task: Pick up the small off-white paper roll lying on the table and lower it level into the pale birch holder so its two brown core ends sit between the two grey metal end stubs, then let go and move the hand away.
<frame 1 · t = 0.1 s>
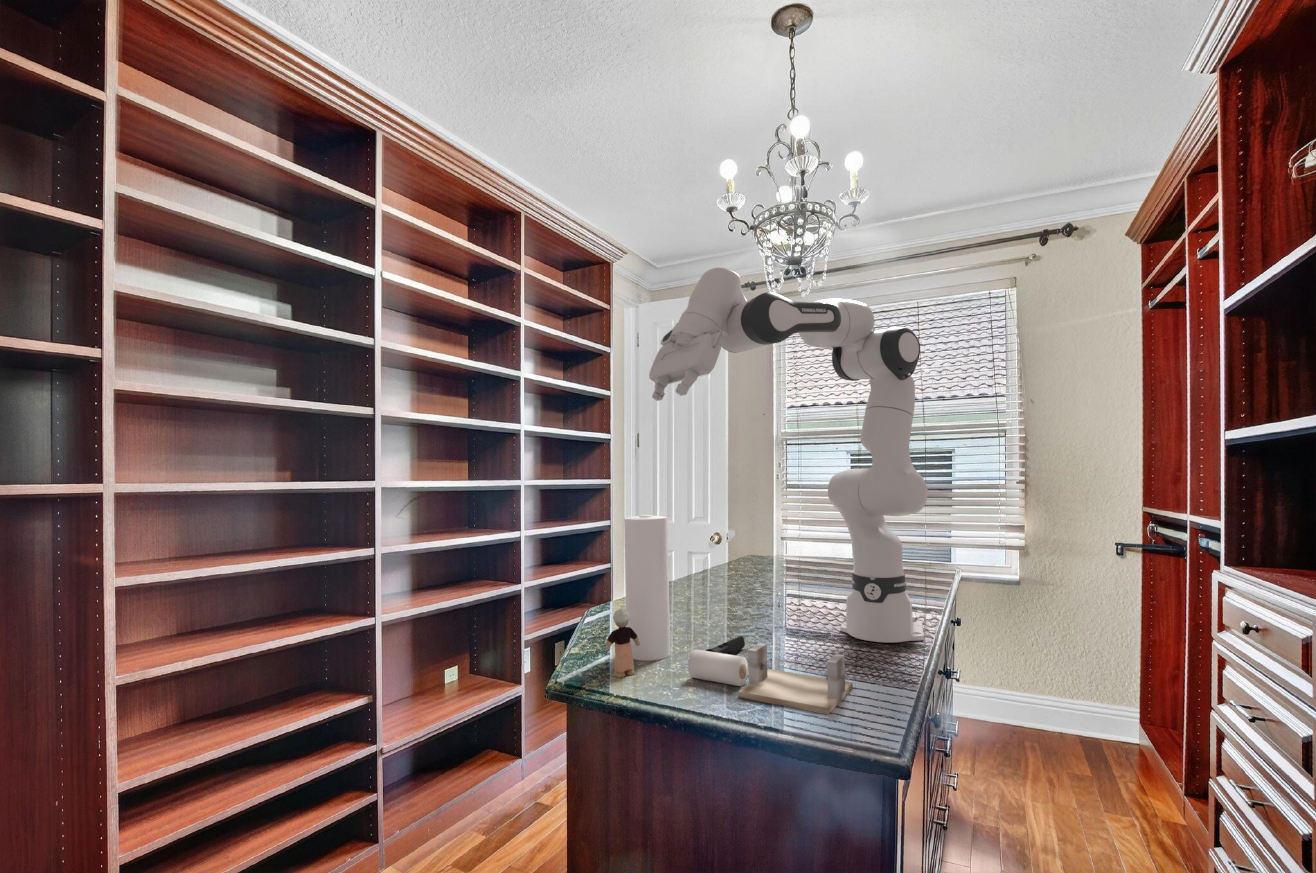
hand: (667, 396, 124), 54 cm above the table, tool tilted 30°, fingers open, 8 cm apart
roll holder: (796, 692, 113), on the table
electric trimmer: (722, 658, 135), on the table
paper roll: (718, 681, 120), on the table
grandmother figurine: (622, 675, 124), on the table
cylinder container: (648, 654, 138), on the table
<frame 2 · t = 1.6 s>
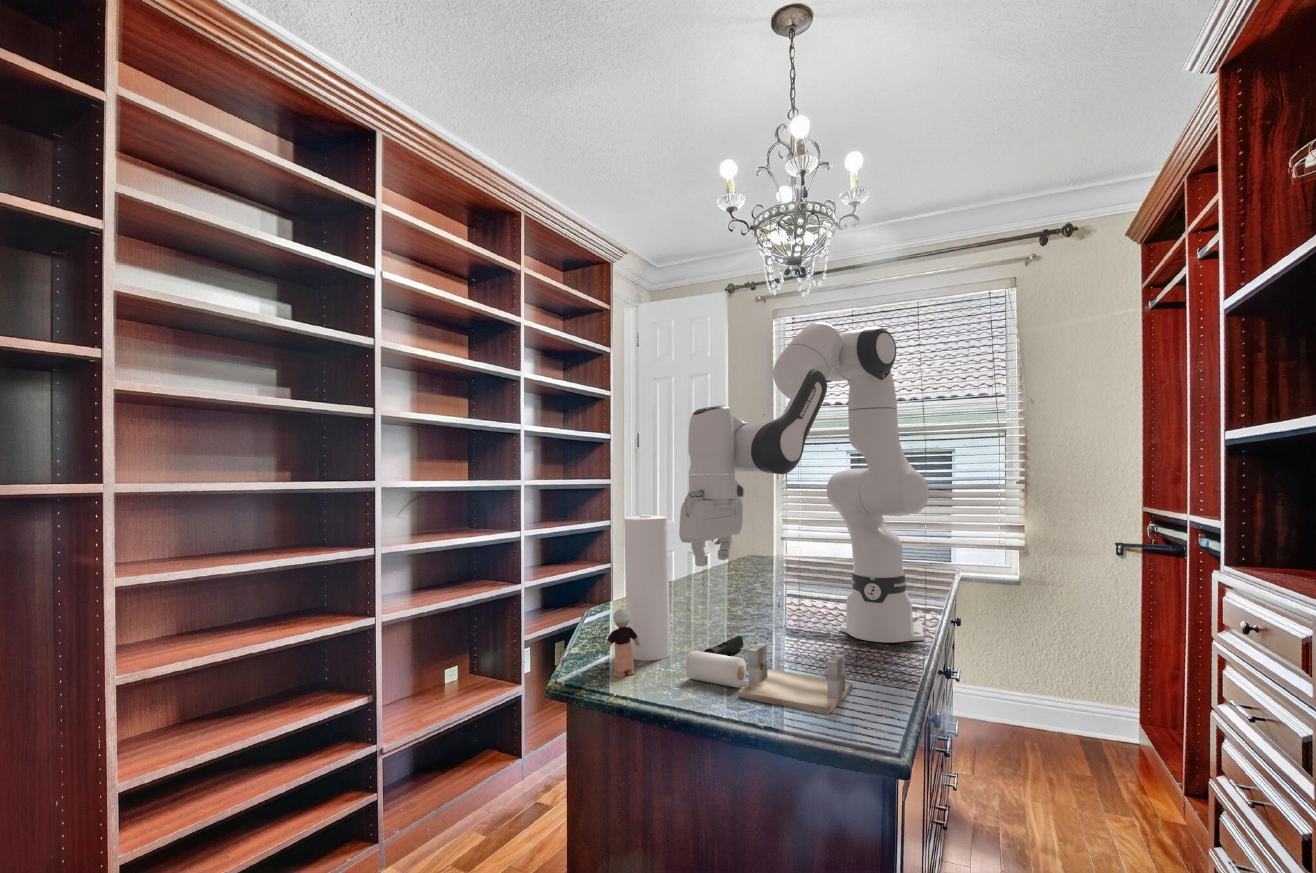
hand: (712, 562, 121), 22 cm above the table, tool pointing down, fingers open, 8 cm apart
paper roll: (718, 680, 120), on the table, tilted 19°
everything else where it was.
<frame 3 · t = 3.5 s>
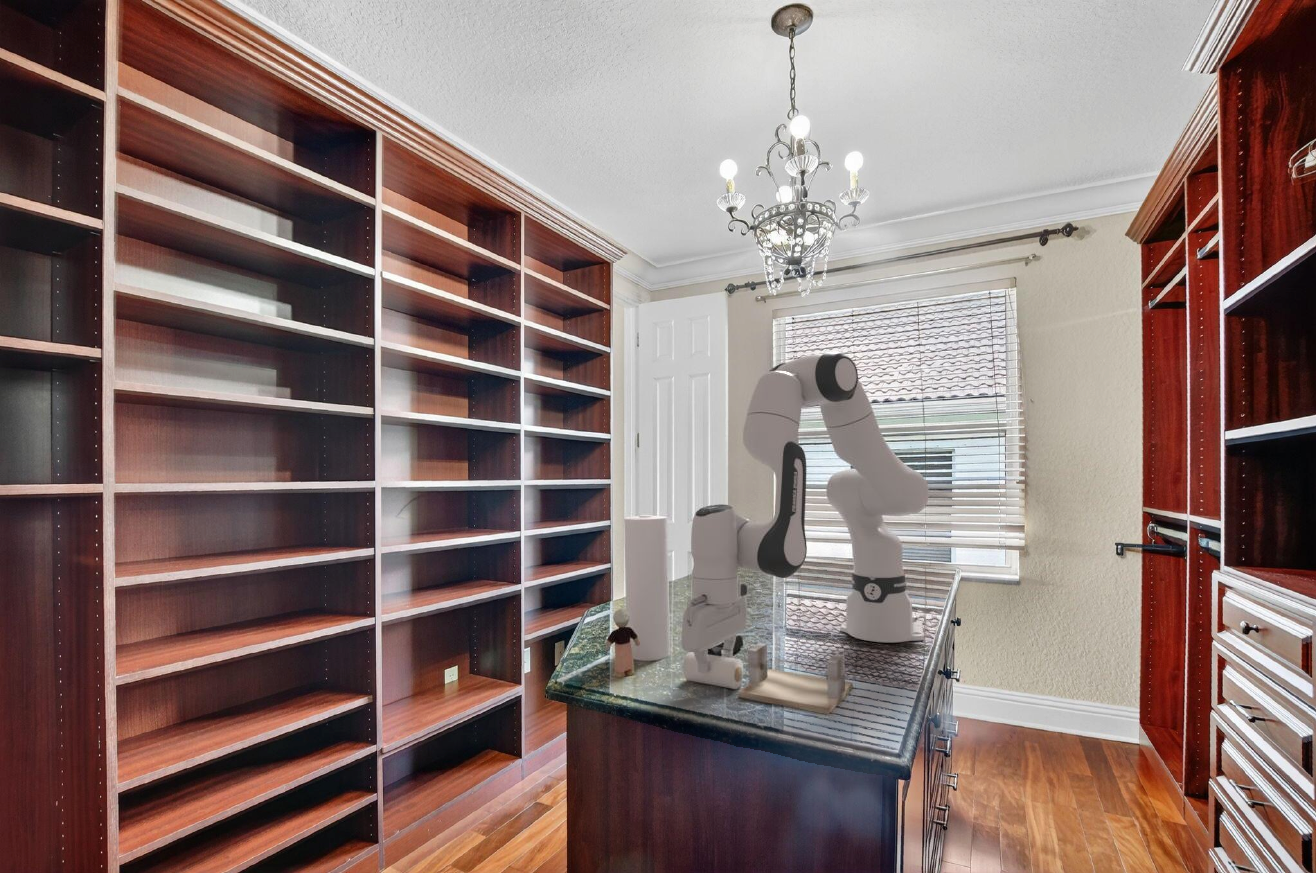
hand: (716, 665, 120), 3 cm above the table, tool pointing down, fingers open, 8 cm apart
paper roll: (719, 670, 120), point 2 cm above the table, tilted 73°
everything else where it was.
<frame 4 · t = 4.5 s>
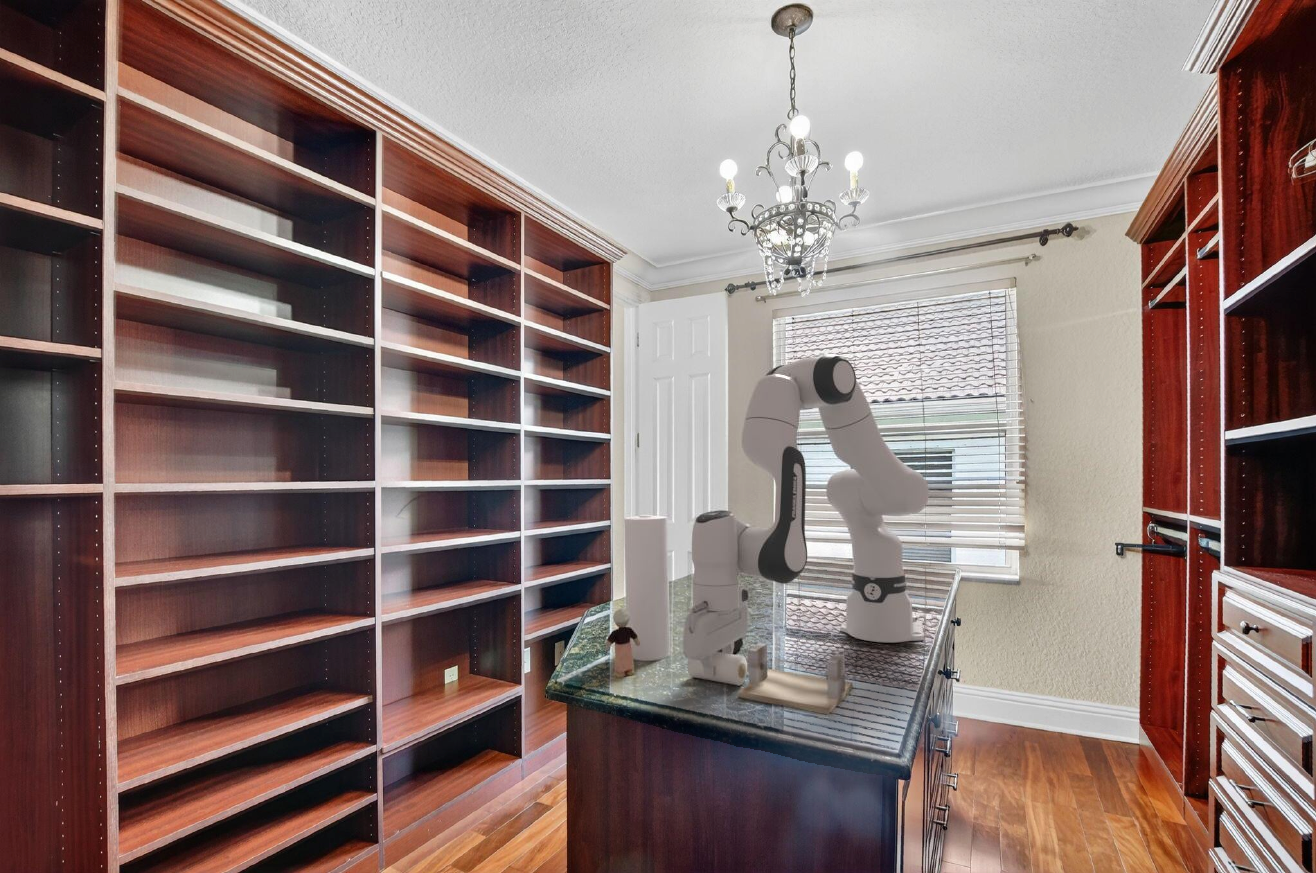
hand: (718, 671, 120), 2 cm above the table, tool pointing down, fingers closed on paper roll, 5 cm apart
paper roll: (720, 676, 121), on the table, tilted 32°, touching gripper
everything else where it was.
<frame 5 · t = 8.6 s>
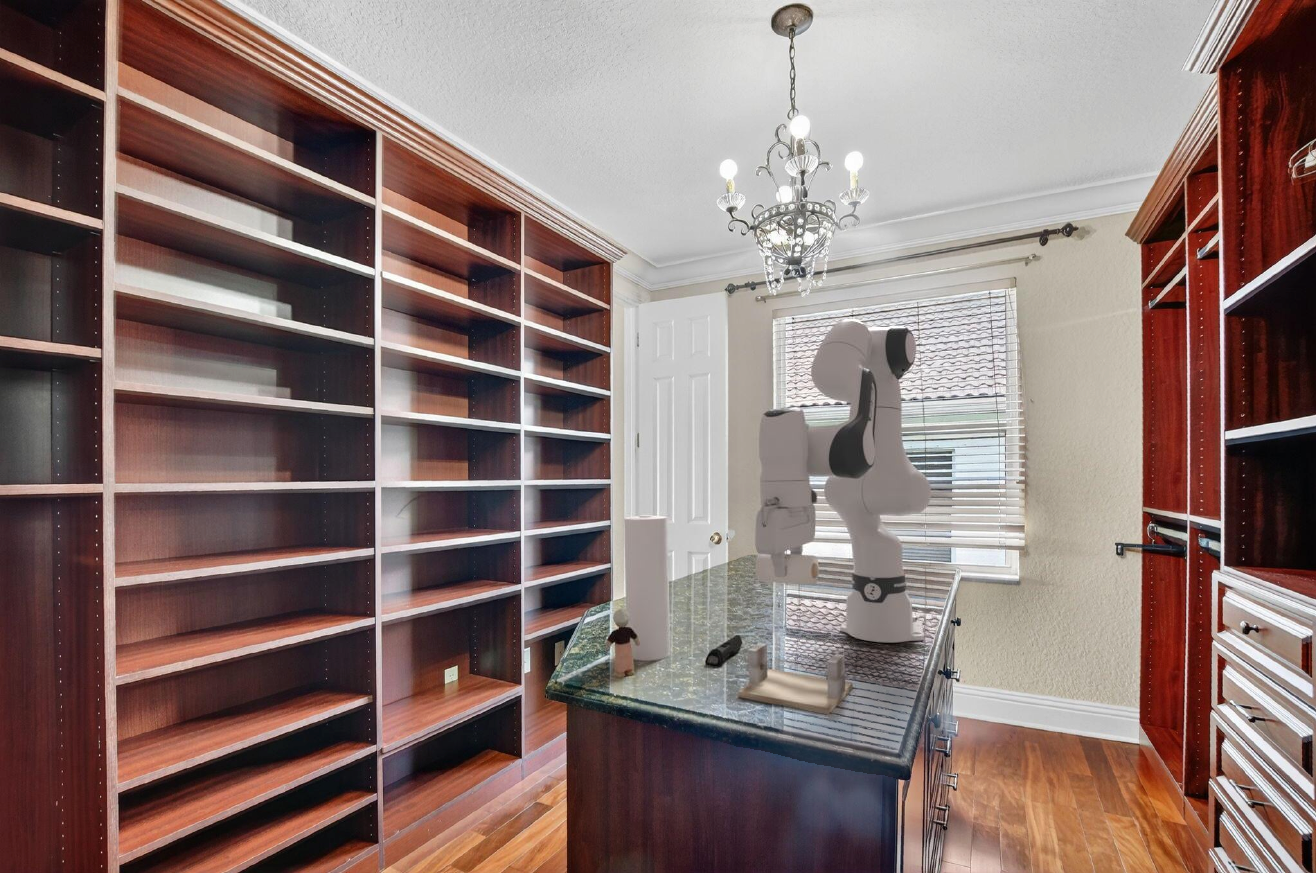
hand: (787, 573, 114), 21 cm above the table, tool pointing down, fingers closed on paper roll, 5 cm apart
paper roll: (790, 579, 115), point 20 cm above the table, tilted 32°, touching gripper
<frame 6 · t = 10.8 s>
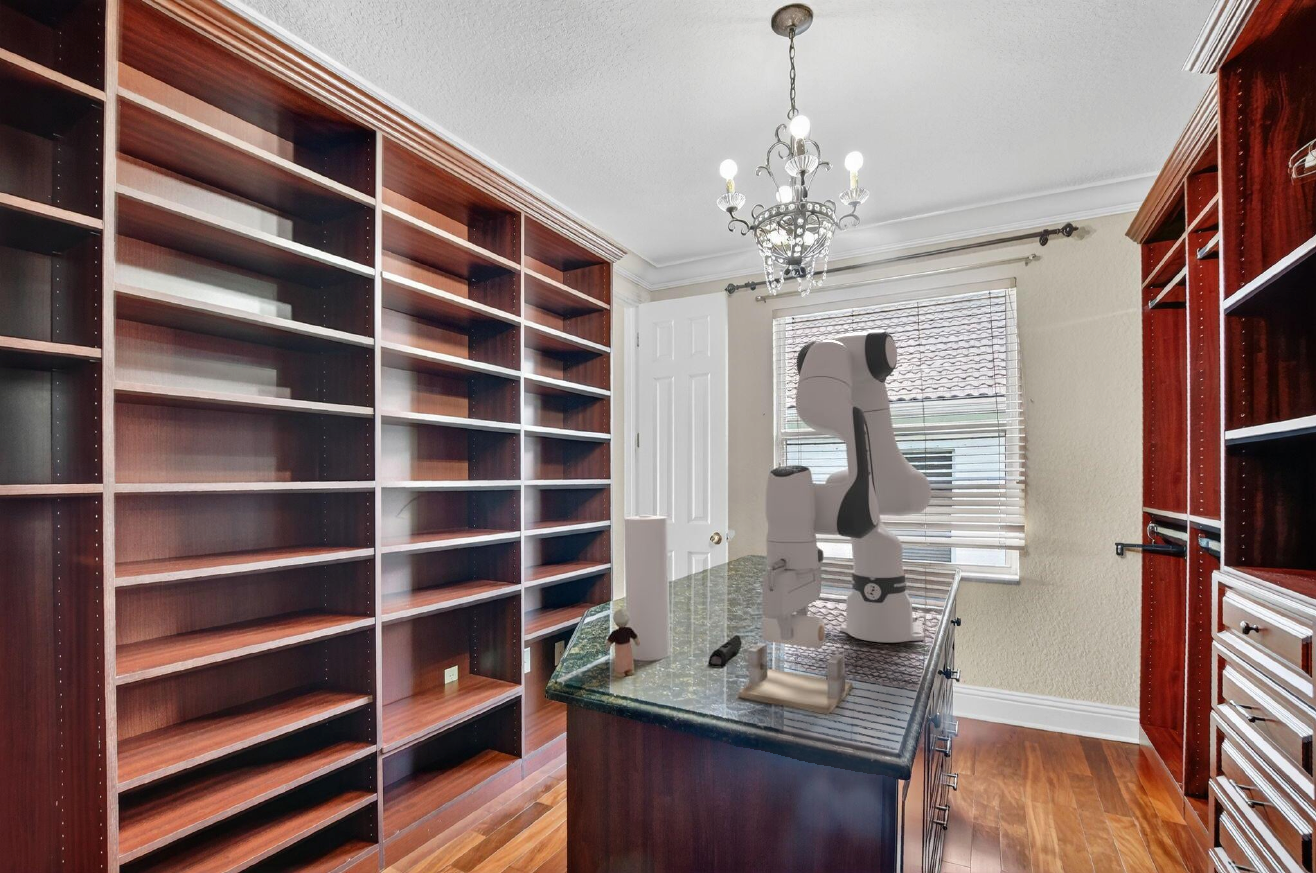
hand: (793, 634, 113), 10 cm above the table, tool pointing down, fingers closed on paper roll, 5 cm apart
paper roll: (795, 640, 114), point 9 cm above the table, tilted 31°, touching gripper
when the fingers open (4 cm above the table, at t = 12.8 s): paper roll drops 1 cm, resting on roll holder.
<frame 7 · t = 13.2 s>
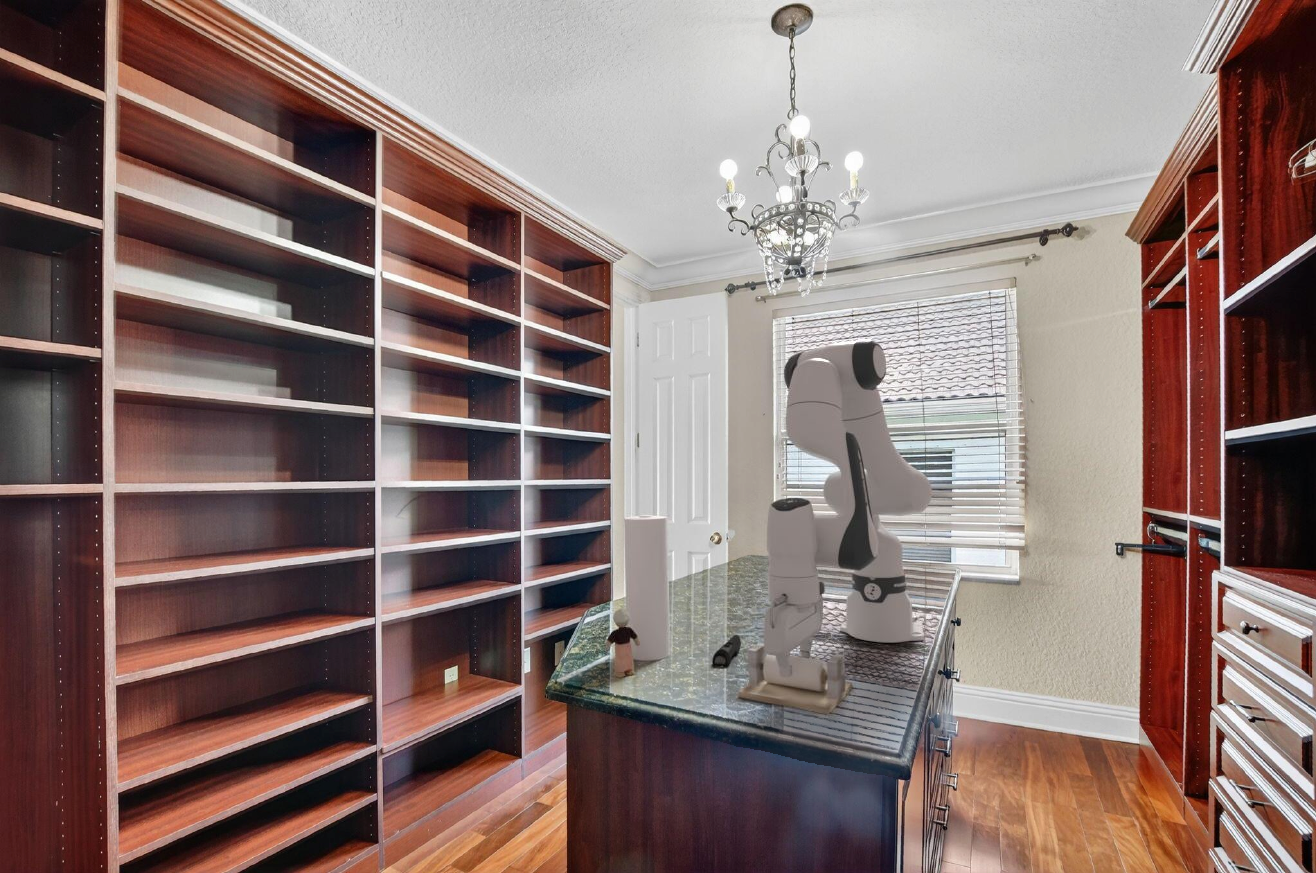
hand: (795, 668, 113), 4 cm above the table, tool pointing down, fingers open, 8 cm apart
paper roll: (798, 681, 114), point 1 cm above the table, tilted 32°, touching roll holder
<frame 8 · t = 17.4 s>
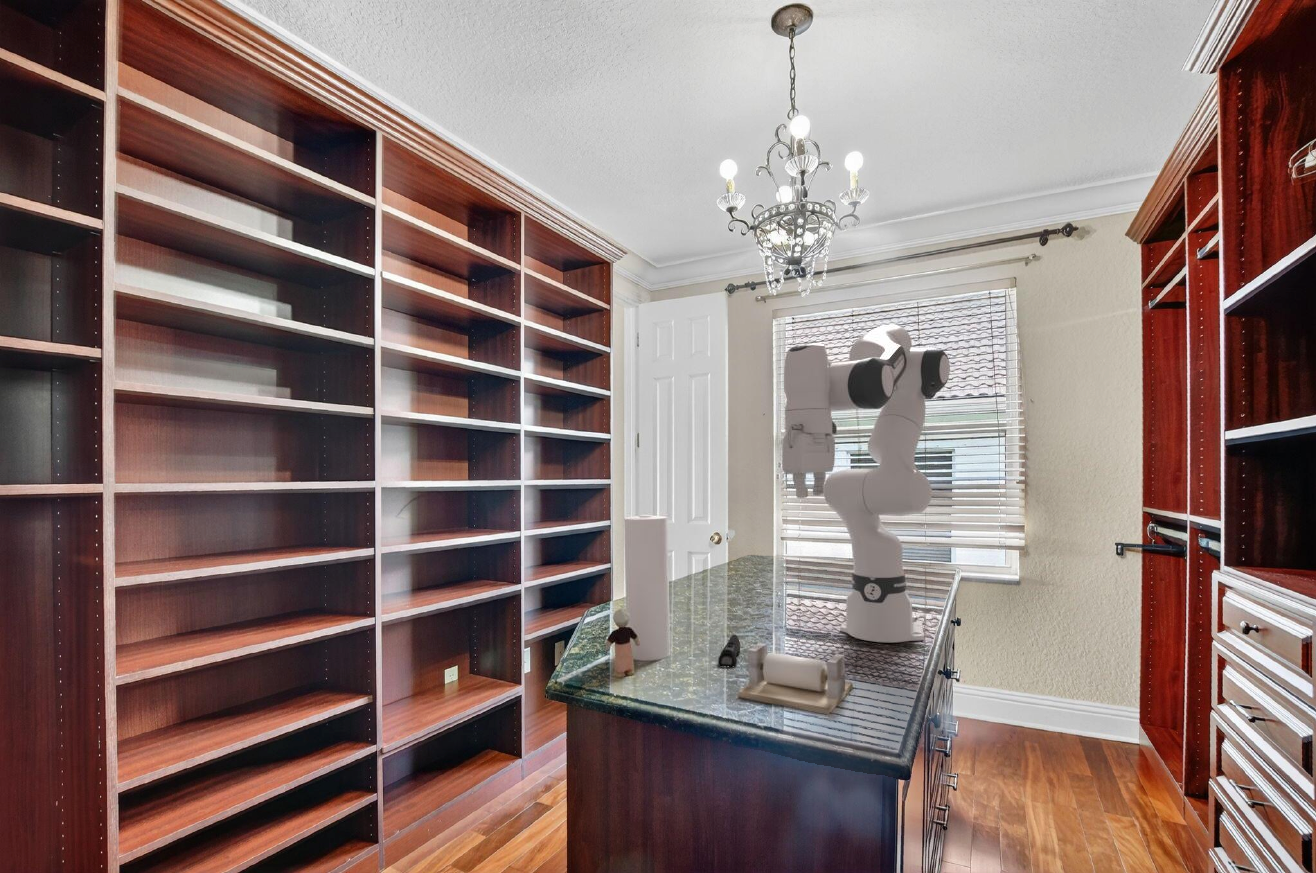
hand: (810, 496, 123), 34 cm above the table, tool pointing down, fingers open, 8 cm apart
at the end: paper roll 1.4 cm off-centre on the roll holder, point 1.4 cm above the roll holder's base; paper roll touching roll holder; the gripper is holding nothing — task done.
